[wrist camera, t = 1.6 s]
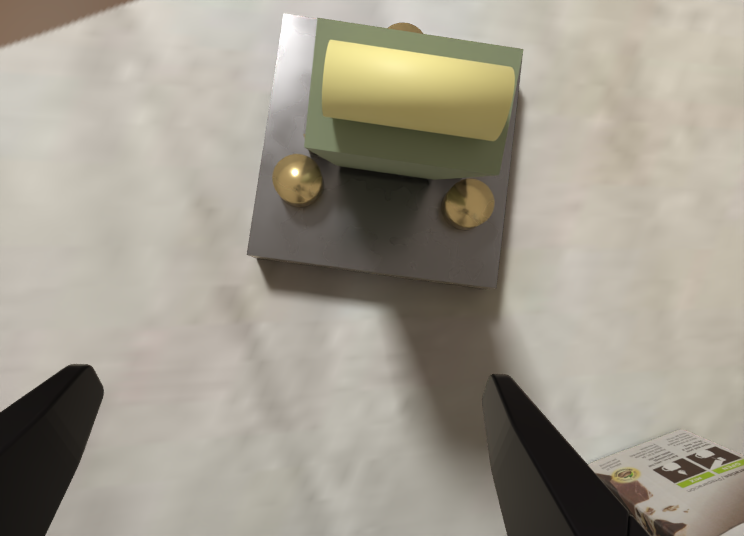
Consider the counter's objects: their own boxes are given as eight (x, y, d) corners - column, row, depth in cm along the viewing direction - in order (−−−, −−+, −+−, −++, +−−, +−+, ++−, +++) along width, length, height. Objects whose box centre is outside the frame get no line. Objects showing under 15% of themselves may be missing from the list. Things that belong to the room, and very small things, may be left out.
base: (484, 288, 24) (520, 287, 19) (256, 258, 24) (227, 247, 18) (509, 69, 25) (550, 10, 20) (289, 36, 24) (271, -34, 19)
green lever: (436, 180, 22) (530, 174, 9) (334, 165, 22) (283, 139, 9) (446, 121, 22) (560, 26, 9) (341, 105, 21) (298, -15, 8)
